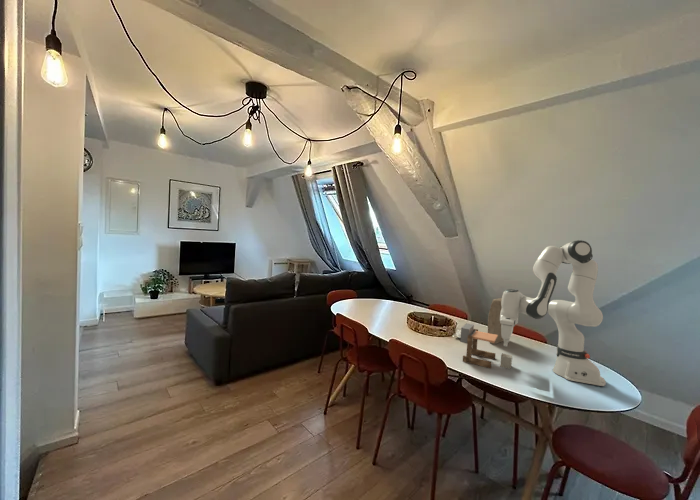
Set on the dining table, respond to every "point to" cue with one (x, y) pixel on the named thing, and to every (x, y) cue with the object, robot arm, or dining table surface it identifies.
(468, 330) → the hammer
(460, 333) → the lotus flower
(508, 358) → the stone
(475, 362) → the frame
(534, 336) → the dining table surface
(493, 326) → the stone tablet
